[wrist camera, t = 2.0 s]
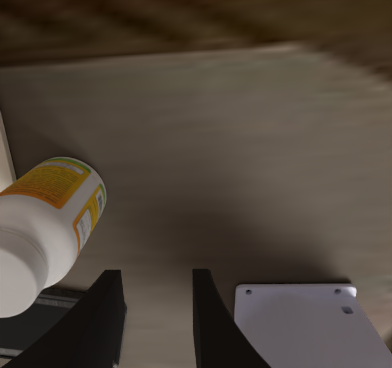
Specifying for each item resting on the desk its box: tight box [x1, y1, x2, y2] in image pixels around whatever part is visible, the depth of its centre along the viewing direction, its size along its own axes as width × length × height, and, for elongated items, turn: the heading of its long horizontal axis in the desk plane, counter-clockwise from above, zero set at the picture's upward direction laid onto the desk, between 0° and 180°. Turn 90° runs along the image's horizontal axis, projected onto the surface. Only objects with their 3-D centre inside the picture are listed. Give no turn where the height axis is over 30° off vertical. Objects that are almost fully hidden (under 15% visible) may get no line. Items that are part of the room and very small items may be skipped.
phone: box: [0, 288, 127, 368], centre depth 27 cm, size 8×1×15 cm
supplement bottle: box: [0, 157, 106, 318], centre depth 18 cm, size 5×5×10 cm
